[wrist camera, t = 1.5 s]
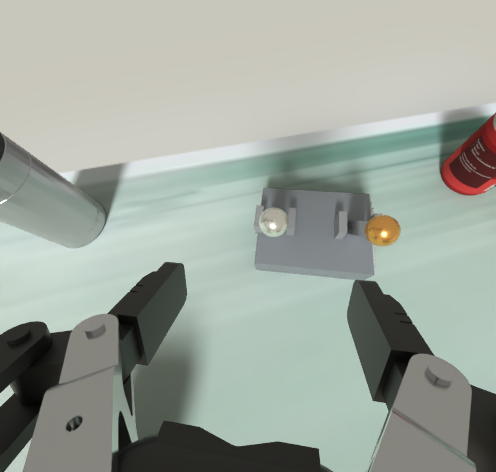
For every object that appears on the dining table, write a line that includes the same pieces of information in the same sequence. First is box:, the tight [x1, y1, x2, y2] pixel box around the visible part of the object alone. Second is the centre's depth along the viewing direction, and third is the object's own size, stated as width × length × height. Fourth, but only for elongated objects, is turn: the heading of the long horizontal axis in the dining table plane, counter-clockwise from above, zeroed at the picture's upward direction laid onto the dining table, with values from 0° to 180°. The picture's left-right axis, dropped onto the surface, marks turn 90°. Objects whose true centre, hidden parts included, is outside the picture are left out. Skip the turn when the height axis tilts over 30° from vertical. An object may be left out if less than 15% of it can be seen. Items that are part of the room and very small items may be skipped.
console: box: [254, 188, 382, 280], centre depth 34 cm, size 17×12×7 cm
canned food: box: [441, 113, 496, 195], centre depth 34 cm, size 8×8×11 cm
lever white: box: [259, 207, 289, 237], centre depth 29 cm, size 3×3×10 cm
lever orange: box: [347, 215, 401, 246], centre depth 28 cm, size 3×3×10 cm
